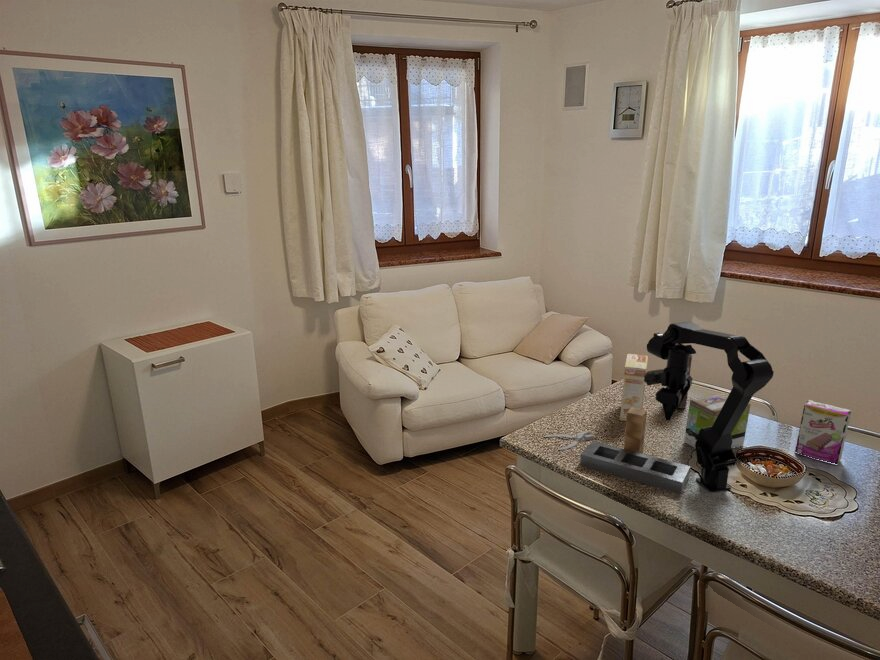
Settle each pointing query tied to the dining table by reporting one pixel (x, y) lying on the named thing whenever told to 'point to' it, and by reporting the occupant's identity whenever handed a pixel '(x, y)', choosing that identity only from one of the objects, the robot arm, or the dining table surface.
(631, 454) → the grey long block
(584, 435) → the pliers
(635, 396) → the coffeecake box
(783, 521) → the dining table surface
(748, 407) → the tea box
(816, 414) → the candy bar box
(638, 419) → the peg
